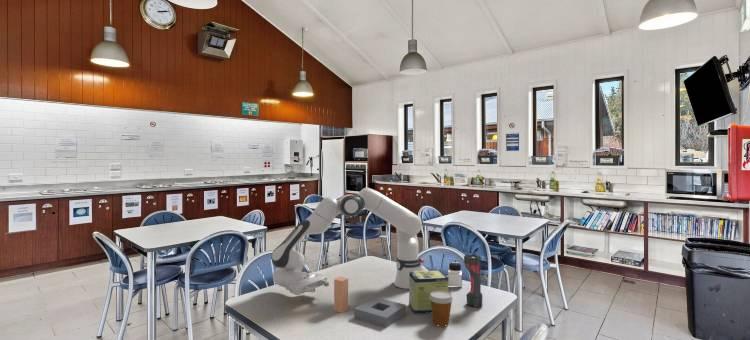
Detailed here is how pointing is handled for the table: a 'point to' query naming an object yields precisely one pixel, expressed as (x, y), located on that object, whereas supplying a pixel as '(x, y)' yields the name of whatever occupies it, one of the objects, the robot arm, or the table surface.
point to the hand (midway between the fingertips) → (321, 287)
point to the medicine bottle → (455, 274)
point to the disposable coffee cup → (441, 307)
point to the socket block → (380, 311)
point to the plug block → (341, 294)
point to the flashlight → (474, 279)
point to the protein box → (425, 289)
